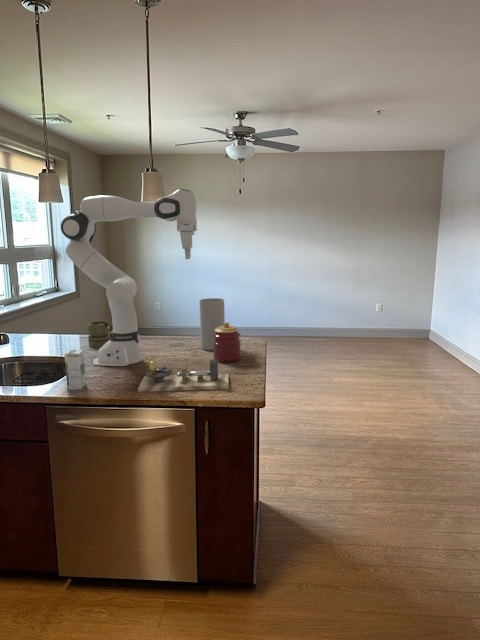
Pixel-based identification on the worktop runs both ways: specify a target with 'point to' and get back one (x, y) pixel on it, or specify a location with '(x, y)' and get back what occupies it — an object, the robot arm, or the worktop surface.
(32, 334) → the worktop surface
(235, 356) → the canister
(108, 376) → the worktop surface
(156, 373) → the handwheel
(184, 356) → the worktop surface
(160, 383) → the board
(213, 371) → the hammer
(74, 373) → the syrup box
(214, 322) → the cylinder vase
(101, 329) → the olive green mug
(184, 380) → the eye post
